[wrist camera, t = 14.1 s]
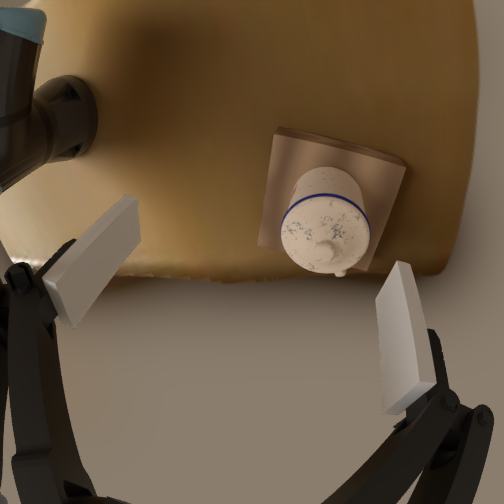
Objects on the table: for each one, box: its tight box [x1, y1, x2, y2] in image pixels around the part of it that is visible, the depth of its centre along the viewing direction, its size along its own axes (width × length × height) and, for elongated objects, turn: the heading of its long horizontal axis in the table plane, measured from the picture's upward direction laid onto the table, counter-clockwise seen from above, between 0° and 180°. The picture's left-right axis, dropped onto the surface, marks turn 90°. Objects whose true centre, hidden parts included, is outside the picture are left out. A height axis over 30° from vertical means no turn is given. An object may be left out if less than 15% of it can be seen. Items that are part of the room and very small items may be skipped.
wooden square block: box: [257, 127, 406, 271], centre depth 39 cm, size 16×16×4 cm
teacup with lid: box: [280, 167, 371, 277], centre depth 32 cm, size 12×9×12 cm
